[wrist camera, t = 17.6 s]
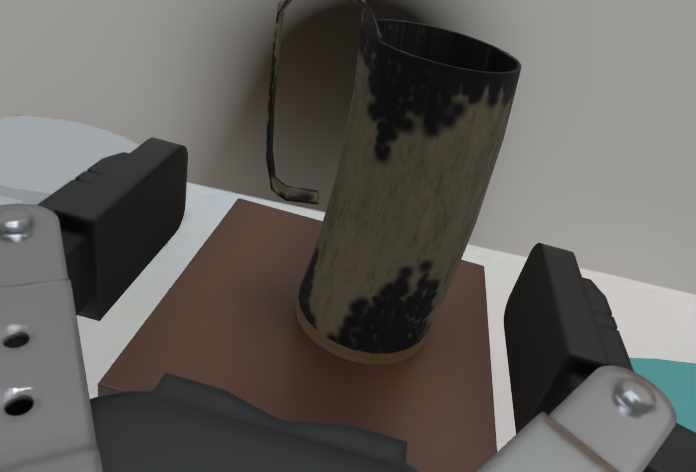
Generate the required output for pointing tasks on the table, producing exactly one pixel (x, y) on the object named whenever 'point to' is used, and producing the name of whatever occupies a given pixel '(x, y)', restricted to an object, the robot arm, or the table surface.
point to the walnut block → (315, 347)
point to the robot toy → (49, 155)
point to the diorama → (673, 385)
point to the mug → (400, 184)
